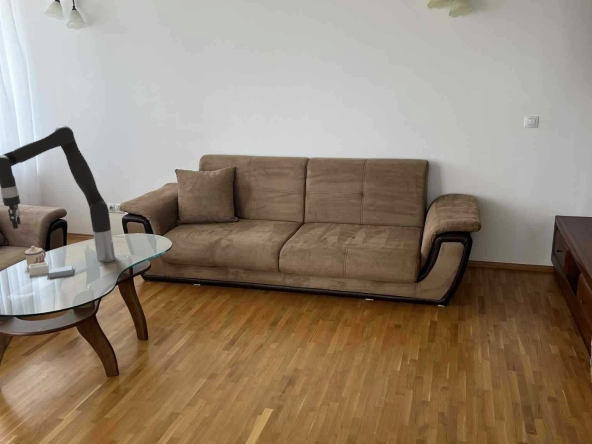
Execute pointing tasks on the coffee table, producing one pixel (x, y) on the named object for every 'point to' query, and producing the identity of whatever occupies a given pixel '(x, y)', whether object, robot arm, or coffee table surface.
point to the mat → (62, 276)
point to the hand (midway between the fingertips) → (17, 226)
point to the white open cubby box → (38, 268)
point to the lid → (60, 271)
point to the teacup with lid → (35, 255)
